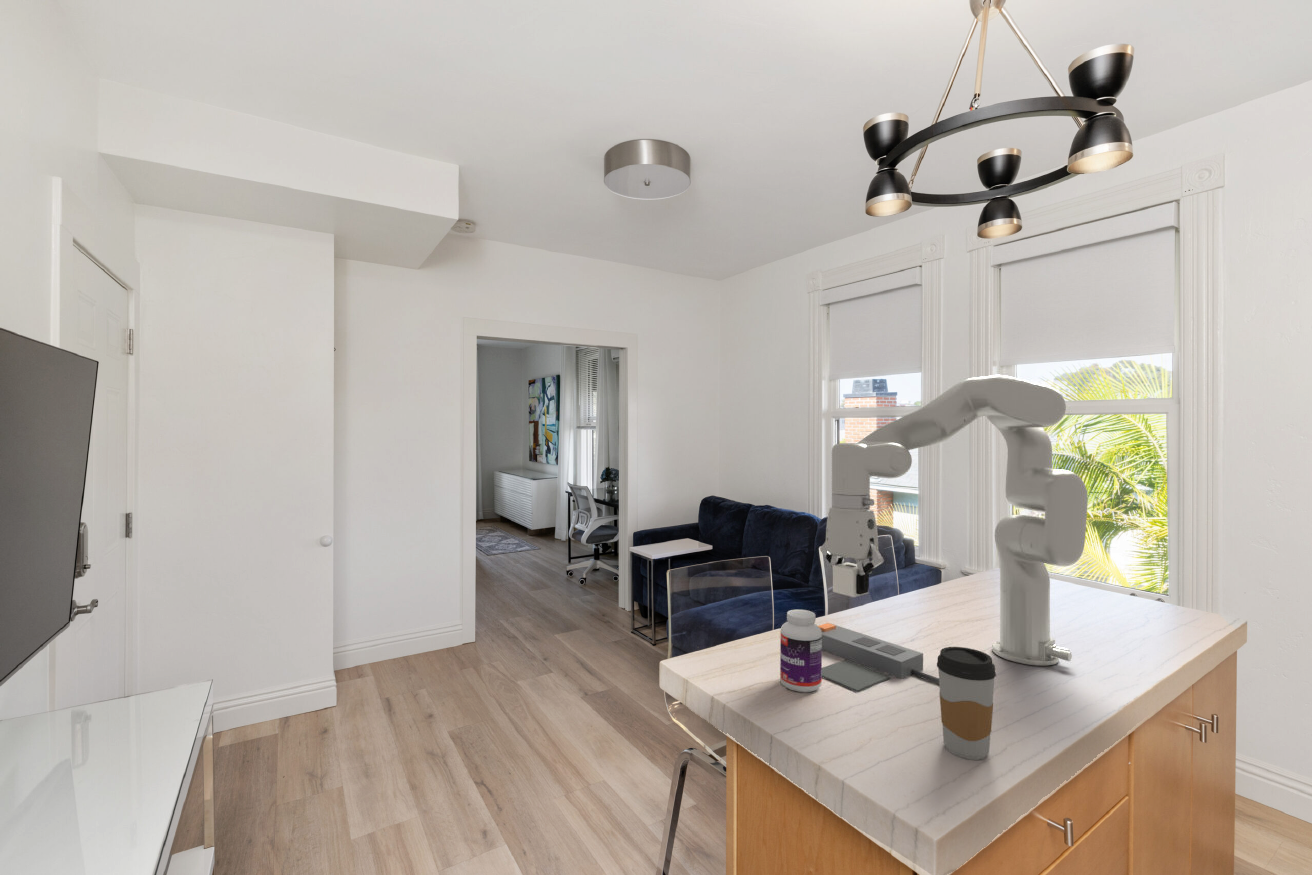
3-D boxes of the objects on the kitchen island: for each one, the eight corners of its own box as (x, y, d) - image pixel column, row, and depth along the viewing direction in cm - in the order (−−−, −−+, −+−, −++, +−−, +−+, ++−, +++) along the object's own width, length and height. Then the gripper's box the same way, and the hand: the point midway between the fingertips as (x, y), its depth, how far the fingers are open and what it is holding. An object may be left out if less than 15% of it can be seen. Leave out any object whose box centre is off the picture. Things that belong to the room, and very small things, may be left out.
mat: (890, 678, 118) (890, 676, 118) (857, 692, 112) (857, 690, 112) (845, 661, 127) (845, 659, 127) (812, 673, 121) (812, 671, 121)
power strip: (981, 689, 113) (981, 668, 112) (960, 700, 108) (960, 678, 108) (830, 637, 142) (830, 620, 142) (808, 644, 137) (808, 626, 137)
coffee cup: (989, 740, 94) (989, 648, 94) (1002, 768, 86) (1002, 668, 86) (933, 732, 97) (933, 643, 97) (940, 758, 89) (940, 661, 89)
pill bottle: (771, 683, 116) (771, 612, 116) (797, 673, 121) (797, 604, 121) (804, 698, 109) (804, 622, 109) (830, 686, 114) (830, 614, 114)
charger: (868, 593, 119) (868, 565, 119) (853, 597, 116) (853, 569, 116) (847, 588, 123) (847, 561, 123) (832, 591, 120) (832, 564, 120)
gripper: (898, 505, 115) (898, 596, 115) (828, 497, 128) (828, 579, 129) (876, 508, 110) (876, 602, 110) (806, 500, 124) (806, 584, 124)
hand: (850, 589), depth 119 cm, fingers closed on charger, 4 cm apart
